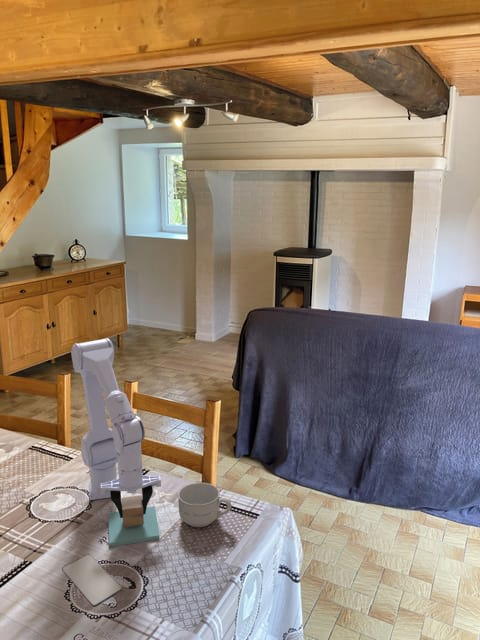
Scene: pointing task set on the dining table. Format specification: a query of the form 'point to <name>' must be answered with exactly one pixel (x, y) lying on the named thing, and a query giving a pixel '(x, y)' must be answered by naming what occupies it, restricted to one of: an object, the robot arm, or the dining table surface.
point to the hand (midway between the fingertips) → (132, 513)
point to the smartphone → (92, 580)
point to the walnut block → (132, 511)
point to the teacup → (201, 504)
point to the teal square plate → (133, 529)
